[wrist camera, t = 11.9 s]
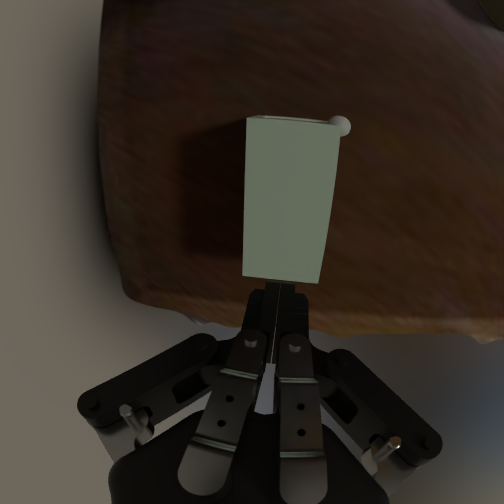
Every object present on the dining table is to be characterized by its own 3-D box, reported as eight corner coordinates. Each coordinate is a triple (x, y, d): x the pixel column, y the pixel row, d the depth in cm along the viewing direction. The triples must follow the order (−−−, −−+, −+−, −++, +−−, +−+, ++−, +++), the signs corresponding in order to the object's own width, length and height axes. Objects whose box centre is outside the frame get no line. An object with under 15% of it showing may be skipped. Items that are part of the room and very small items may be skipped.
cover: (251, 107, 24) (247, 107, 21) (346, 116, 23) (352, 118, 20) (246, 263, 32) (242, 275, 30) (324, 271, 31) (326, 284, 29)
